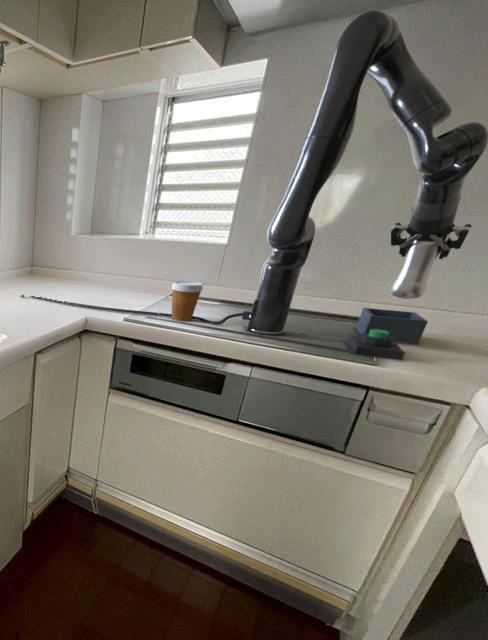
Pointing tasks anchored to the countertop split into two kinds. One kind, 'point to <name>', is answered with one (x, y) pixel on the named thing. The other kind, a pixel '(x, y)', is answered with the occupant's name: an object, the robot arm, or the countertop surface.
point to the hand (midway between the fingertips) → (422, 255)
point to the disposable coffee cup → (184, 299)
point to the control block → (375, 346)
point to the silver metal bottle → (416, 269)
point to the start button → (378, 333)
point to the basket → (393, 324)
